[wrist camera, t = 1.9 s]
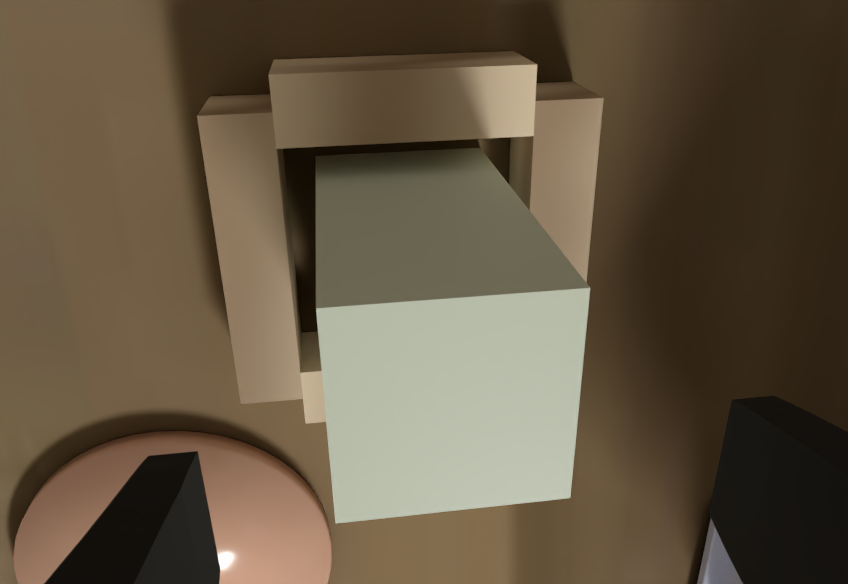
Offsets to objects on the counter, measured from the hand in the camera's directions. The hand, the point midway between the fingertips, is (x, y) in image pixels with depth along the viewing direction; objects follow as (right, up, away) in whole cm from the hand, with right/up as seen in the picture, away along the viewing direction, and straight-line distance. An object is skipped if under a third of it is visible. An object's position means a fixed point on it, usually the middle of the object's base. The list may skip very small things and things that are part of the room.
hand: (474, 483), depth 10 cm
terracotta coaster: (-8, -5, +12) cm, 16 cm away
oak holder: (-1, +4, +9) cm, 10 cm away
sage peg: (-1, +4, +9) cm, 10 cm away
